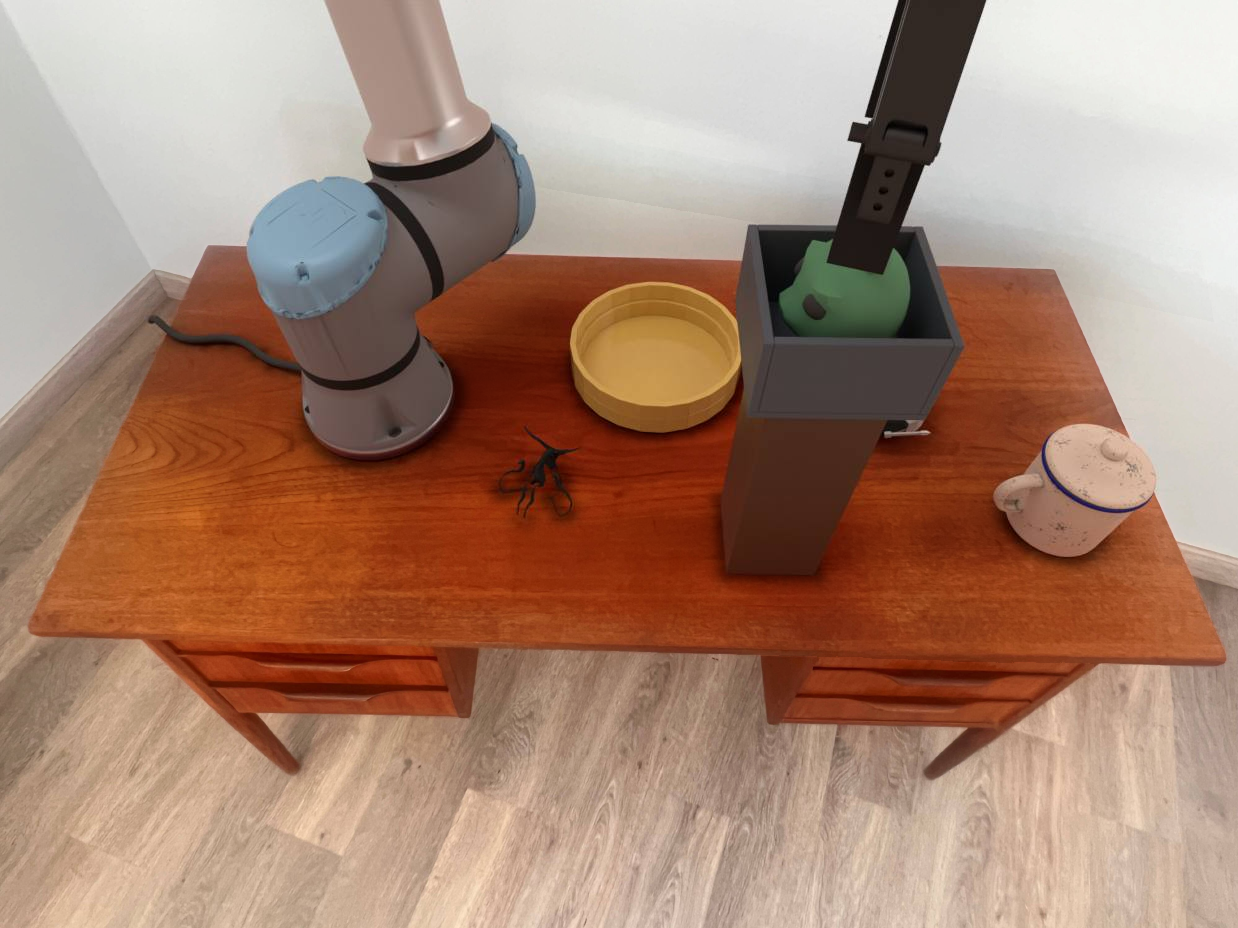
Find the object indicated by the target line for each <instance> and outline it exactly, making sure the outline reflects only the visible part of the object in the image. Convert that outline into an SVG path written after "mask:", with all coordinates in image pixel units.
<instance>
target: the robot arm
mask: <svg viewBox="0 0 1238 928" xmlns="http://www.w3.org/2000/svg"><path fill="white" fill-rule="evenodd" d="M323 1H324V4H325V6H326V9H327V12H328V15H329V17H330V20H331V22H332V23H331V24H332V25H333V29H334V31H335V33H336V36H337V38H338V40H339V43H340V46H341V49H342V51H343V54H344V56H345V59H346V61H347V65H348V67H349V69H350V73H351V75H352V77H353V79H354V82H355V85H356V87H357V90H358V93H359V95H360V98H361V100H362V103H363V106H364V109H365V111H366V114H367V116H368V119H369V121H370V129H369V131H368V133H367V134H366V136H365V140H364V141H363V142H362V143H363V144H362V151H363V155H364V156H365V159H366V161H367V164H368V167H369V170H370V172H371V175H372V178H371V179H370V180H367V181H366V182H364V183H363V182H362V181H359V180H358V179H355V178H351V177H348V176H335V175H334V176H332V175H331V176H325V177H324V178H323V179H322V180H321V181H319V182H318V181H317V180H316V179H313V178H312V179H308V180H304V181H302V182H298V183H297V184H295V185H292V186H290V187H288V188H286V189H285V190H283V191H282V192H280V193H278V194H277V195H276V196H274V197H273V198H272V199H271V200H269V201H268V202H267V203H266V204H265V205H264V206H263V207H262V208H261V209H260V211H259V212H258V213H257V215H256V216H255V218H254V219H253V221H252V223H251V225H250V229H249V231H248V239H247V241H246V256H247V260H248V264H249V267H250V269H251V271H252V273H253V276H254V278H255V280H256V286H257V290H258V293H259V295H260V297H261V299H262V300H263V303H264V305H266V306H267V307H268V308H269V309H270V312H271V314H272V315H273V317H274V319H275V321H276V323H277V325H278V328H279V329H280V331H281V333H282V335H283V337H284V339H285V340H286V343H287V344H288V346H289V349H290V351H291V352H292V354H293V356H294V359H295V360H296V362H294V361H289V360H284V359H279V358H276V357H274V356H271V355H269V354H267V353H265V352H264V351H262V350H261V349H260V348H259V347H258V346H256V345H255V344H254V343H252V342H251V341H250V340H248V339H246V338H244V337H241V336H238V335H233V334H225V333H219V334H218V333H215V334H202V335H192V334H191V335H190V334H186V333H185V334H184V333H182V332H178V331H177V330H175V329H173V327H171V326H170V325H169V324H168V323H167V322H166V321H164V319H163V318H161V317H160V316H158V315H156V314H152V315H150V316H149V317H148V319H147V323H148V324H151V325H154V324H155V325H157V327H159V329H160V330H162V331H163V332H164V333H165V334H167V335H168V336H169V337H171V338H172V339H174V340H176V341H179V342H182V343H189V344H205V343H206V344H207V343H231V344H236V345H238V346H241V347H243V348H245V349H247V350H248V351H249V352H250V353H252V354H253V355H254V356H255V357H256V358H258V359H259V360H260V361H263V362H264V363H266V364H268V365H271V366H274V367H277V368H281V369H285V370H290V371H296V372H298V373H301V391H302V410H303V415H304V419H305V422H306V423H307V425H308V427H309V430H310V431H311V433H312V435H313V436H314V438H315V439H316V440H317V442H319V443H320V444H321V446H323V447H324V448H325V449H327V450H328V451H330V452H332V453H334V454H336V455H337V456H341V457H343V458H347V459H351V460H358V461H378V460H379V461H380V460H387V459H390V458H394V457H398V456H401V455H404V454H407V453H410V452H412V451H413V450H416V449H417V448H419V447H421V446H422V445H424V444H426V443H427V442H428V441H430V440H431V439H432V438H433V437H434V436H435V435H437V433H438V432H439V431H440V430H441V429H442V428H443V427H444V426H445V424H446V423H447V421H448V420H449V417H450V416H451V414H452V412H453V410H454V409H453V408H454V405H455V398H456V395H455V393H456V392H455V386H454V381H453V379H452V375H451V372H450V369H449V367H448V366H447V364H446V363H445V361H444V359H443V358H442V357H441V355H439V353H438V352H437V351H436V350H434V348H436V345H435V344H434V343H433V342H432V341H431V340H430V339H429V338H427V337H426V336H425V335H424V334H422V333H421V332H420V330H419V326H418V323H417V319H416V316H415V315H416V313H417V312H418V311H420V310H421V309H423V308H424V307H426V306H427V305H428V304H430V303H431V302H433V301H434V300H436V299H437V298H439V297H441V296H442V295H443V294H445V293H446V292H448V291H449V290H451V289H452V288H454V287H455V286H457V285H458V284H460V283H461V282H463V281H465V279H467V278H469V277H470V276H471V275H473V274H474V273H476V272H478V271H479V270H480V269H482V268H484V267H485V266H486V265H488V264H489V263H491V262H495V261H497V260H499V259H501V258H503V257H504V256H505V255H506V254H507V253H508V251H510V250H511V248H512V247H513V246H515V245H516V244H518V243H519V242H520V241H521V240H522V239H524V237H526V235H527V234H528V232H529V231H530V229H531V227H532V225H533V222H534V219H535V215H536V208H537V207H536V206H537V197H536V196H537V194H536V189H535V181H534V177H533V173H532V170H531V168H530V165H529V162H528V160H527V158H526V157H525V155H524V153H522V154H520V153H519V152H518V143H517V142H516V140H515V139H514V138H513V136H512V135H511V134H509V132H508V131H506V129H504V128H503V127H501V126H500V125H499V124H496V123H494V122H492V119H491V117H490V114H489V113H488V111H486V110H485V109H484V108H482V107H481V106H479V105H477V104H476V103H474V102H472V101H471V100H470V99H468V97H467V94H466V90H465V86H464V83H463V79H462V75H461V72H460V69H459V66H458V62H457V58H456V55H455V51H454V47H453V44H452V40H451V37H450V34H449V30H448V26H447V22H446V20H445V16H444V13H443V9H442V4H441V2H440V1H441V0H323ZM986 3H987V0H897V3H896V7H895V9H894V13H893V17H892V20H891V24H890V27H889V30H888V34H887V37H886V41H885V45H884V48H883V51H882V55H881V58H880V62H879V65H878V68H877V71H876V72H877V73H876V76H875V78H874V82H873V85H872V89H871V93H870V96H869V99H868V104H867V106H866V110H865V113H864V118H867V119H870V120H868V123H863V122H858V121H852V122H851V125H850V129H849V133H848V136H847V139H846V141H847V142H851V143H857V144H860V147H859V150H858V154H857V158H856V160H855V164H854V166H853V170H852V173H851V177H850V180H849V183H848V187H847V190H846V194H845V197H844V200H843V204H842V207H841V210H840V213H839V216H838V217H839V218H838V220H837V224H836V225H837V227H836V231H835V234H834V237H833V241H832V244H831V247H830V251H829V254H828V258H827V262H826V263H829V264H833V265H838V266H843V267H847V268H852V269H857V270H861V271H866V272H870V273H875V274H880V275H883V274H884V271H885V269H886V266H887V263H888V261H889V258H890V255H891V253H892V250H893V248H894V245H895V242H896V240H897V237H898V235H899V232H900V229H901V227H902V226H903V224H904V221H905V219H906V216H907V213H908V211H909V208H910V206H911V203H912V200H913V198H914V195H915V193H916V190H917V187H918V185H919V183H920V179H921V177H922V174H923V172H924V169H925V166H928V167H930V166H931V165H932V164H933V163H934V162H935V159H936V158H937V157H938V155H939V154H940V151H941V147H942V145H943V144H942V142H941V138H942V134H943V132H944V129H945V126H946V123H947V120H948V117H949V113H950V111H951V108H952V105H953V102H954V99H955V96H956V93H957V90H958V86H959V84H960V82H961V78H962V75H963V72H964V69H965V66H966V64H967V60H968V57H969V54H970V51H971V48H972V46H973V42H974V39H975V36H976V33H977V31H978V27H979V25H980V21H981V18H982V15H983V13H984V9H985V6H986Z"/></svg>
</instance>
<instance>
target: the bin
mask: <svg viewBox="0 0 1238 928" xmlns="http://www.w3.org/2000/svg"><path fill="white" fill-rule="evenodd" d="M836 227H837V224H835V225H831V224H830V225H829V224H828V225H825V224H824V225H823V224H753V223H752V224H751V223H750V224H748V225H747V229H746V236H745V240H744V247H743V253H742V257H741V258H742V259H741V264H740V271H739V277H738V282H737V288H736V294H735V300H734V304H735V314H736V315H735V316H736V321H737V325H738V334H739V343H740V353H741V362H742V364H741V371H742V379H743V391H742V395H741V400H740V406H739V410H738V415H737V419H736V424H735V429H734V434H733V437H732V438H733V439H732V444H731V449H730V453H729V457H728V462H727V467H726V472H725V477H724V482H723V487H722V491H721V495H720V511H721V512H720V513H721V524H722V526H721V527H722V538H723V552H724V553H723V554H724V565H725V574H726V575H774V576H775V575H777V576H779V575H781V576H782V575H783V576H784V575H785V576H815V574H816V573H817V570H818V568H819V566H820V564H821V562H822V560H823V558H824V556H825V554H826V551H827V549H828V547H829V544H830V543H831V540H832V538H833V536H834V534H835V532H836V530H837V528H838V526H839V525H840V521H841V519H842V518H843V515H844V513H845V511H846V509H847V507H848V504H849V502H850V500H851V498H852V496H853V494H854V492H855V490H856V488H857V485H858V484H859V481H860V480H861V478H862V475H863V473H864V471H865V469H866V466H867V464H868V462H869V461H870V458H871V457H872V454H873V452H874V450H875V448H876V445H877V443H878V441H879V439H880V437H881V436H882V435H881V433H882V431H883V429H884V426H885V424H886V422H887V420H924V421H926V420H927V418H928V416H929V414H930V412H931V410H932V409H933V407H934V405H935V403H936V402H937V399H938V397H939V396H940V393H941V392H942V390H943V388H944V387H945V385H946V382H947V381H948V379H949V377H950V375H951V374H952V371H953V370H954V369H955V366H956V364H957V362H958V360H959V358H960V357H961V355H962V353H963V351H964V349H965V347H966V346H965V343H964V340H963V337H962V334H961V331H960V328H959V326H958V322H957V320H956V317H955V313H954V311H953V307H952V305H951V303H950V300H949V296H948V294H947V292H946V288H945V285H944V283H943V279H942V276H941V275H940V272H939V269H938V265H937V263H936V260H935V257H934V254H933V251H932V249H931V246H930V243H929V240H928V237H927V234H926V232H925V228H924V226H919V225H918V226H917V225H915V226H912V225H911V226H908V225H907V226H906V225H905V226H904V225H902V227H901V229H900V232H899V235H898V237H897V240H896V242H895V245H894V249H895V250H896V251H897V252H898V253H899V255H900V256H901V258H902V260H903V262H904V263H905V266H906V268H907V271H908V276H909V282H910V299H909V304H908V308H907V312H906V316H905V319H904V321H903V324H902V325H901V327H900V329H899V331H898V332H897V334H896V335H895V336H894V338H830V337H797V336H796V335H795V334H794V333H793V332H792V330H791V329H790V328H789V327H788V326H787V325H786V324H785V323H784V322H783V319H782V317H781V314H780V312H779V295H780V293H781V292H783V291H784V290H786V289H787V288H789V287H791V286H792V285H793V283H794V281H795V279H796V277H797V275H796V274H795V266H796V265H797V264H798V262H799V261H800V260H801V259H802V258H804V257H805V254H806V251H807V248H808V247H809V245H810V244H811V242H812V240H816V241H821V242H826V243H827V242H828V241H830V240H832V239H833V237H834V234H835V231H836Z"/></svg>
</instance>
